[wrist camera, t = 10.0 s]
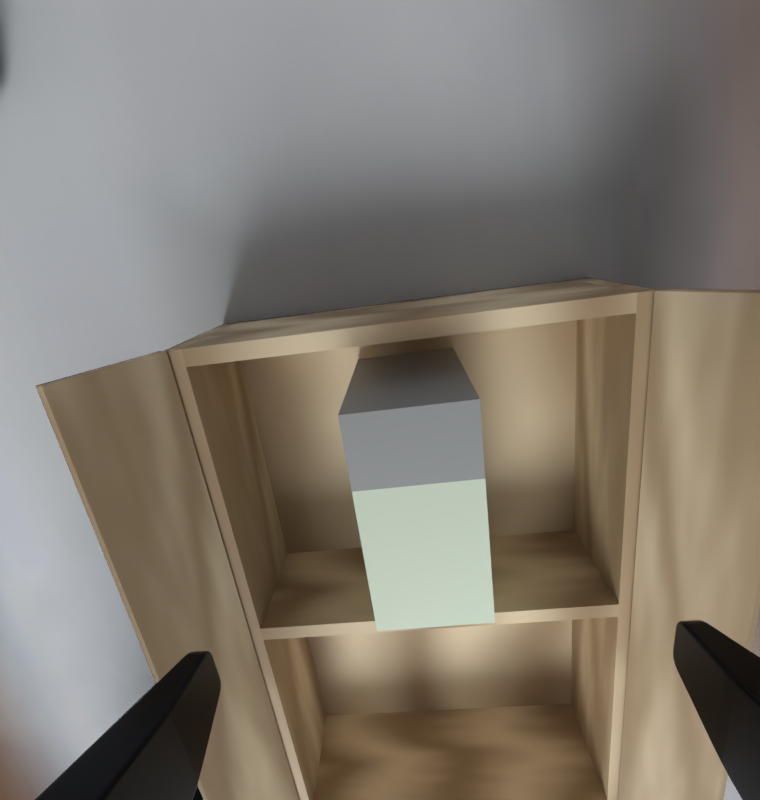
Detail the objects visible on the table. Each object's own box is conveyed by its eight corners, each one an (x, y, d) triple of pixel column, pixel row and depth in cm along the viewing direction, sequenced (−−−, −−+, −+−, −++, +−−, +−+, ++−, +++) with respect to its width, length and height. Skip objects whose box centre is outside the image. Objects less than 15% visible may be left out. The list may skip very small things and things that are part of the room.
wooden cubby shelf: (288, 718, 27) (243, 909, 19) (179, 330, 19) (29, 387, 11) (613, 701, 25) (708, 902, 17) (639, 271, 17) (829, 291, 10)
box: (383, 519, 21) (377, 630, 15) (358, 359, 19) (337, 415, 12) (467, 511, 21) (494, 622, 15) (453, 347, 18) (479, 399, 12)
